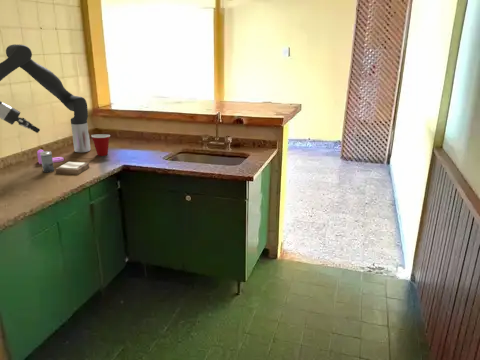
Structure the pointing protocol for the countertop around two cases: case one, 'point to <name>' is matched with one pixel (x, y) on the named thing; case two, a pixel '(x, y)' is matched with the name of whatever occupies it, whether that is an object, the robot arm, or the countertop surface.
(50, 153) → the housing
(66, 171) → the stand
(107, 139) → the plastic cup
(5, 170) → the countertop surface
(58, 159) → the bracket
